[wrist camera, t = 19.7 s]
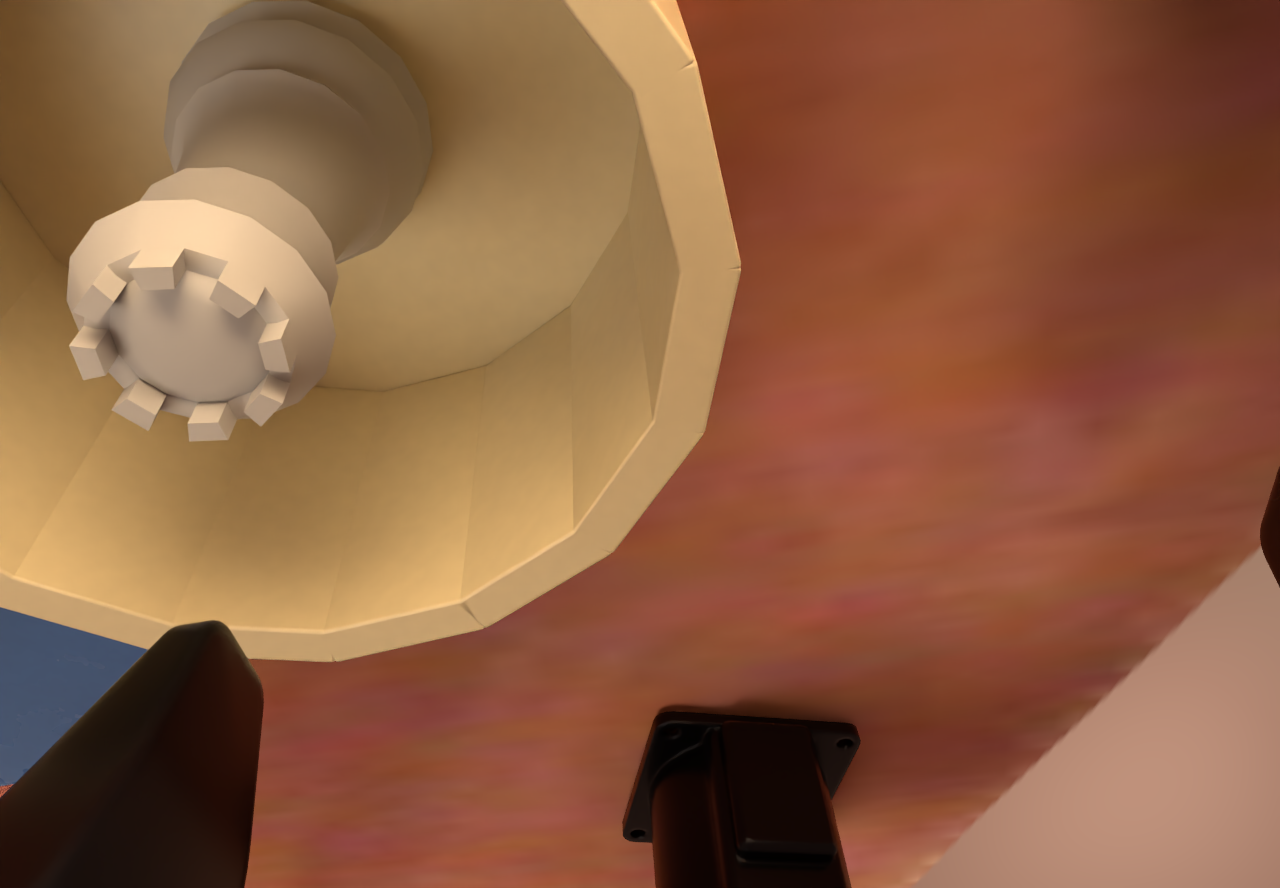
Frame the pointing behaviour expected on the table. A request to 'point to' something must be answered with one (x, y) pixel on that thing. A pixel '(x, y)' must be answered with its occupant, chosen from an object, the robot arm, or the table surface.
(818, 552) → the table surface
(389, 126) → the rook chess piece
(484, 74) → the tin
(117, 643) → the lid
